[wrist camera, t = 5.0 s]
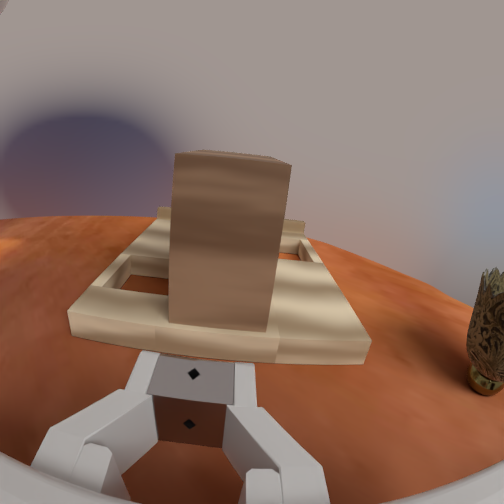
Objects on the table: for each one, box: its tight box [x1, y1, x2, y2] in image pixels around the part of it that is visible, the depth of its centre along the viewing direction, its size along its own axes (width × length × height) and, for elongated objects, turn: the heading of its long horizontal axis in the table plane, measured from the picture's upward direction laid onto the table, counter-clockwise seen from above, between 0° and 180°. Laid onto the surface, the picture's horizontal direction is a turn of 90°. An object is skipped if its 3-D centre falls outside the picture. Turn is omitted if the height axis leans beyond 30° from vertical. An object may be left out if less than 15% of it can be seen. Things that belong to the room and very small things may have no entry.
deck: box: [67, 207, 372, 365], centre depth 30 cm, size 26×20×4 cm
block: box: [169, 150, 292, 333], centre depth 23 cm, size 12×6×10 cm, turn 2°
